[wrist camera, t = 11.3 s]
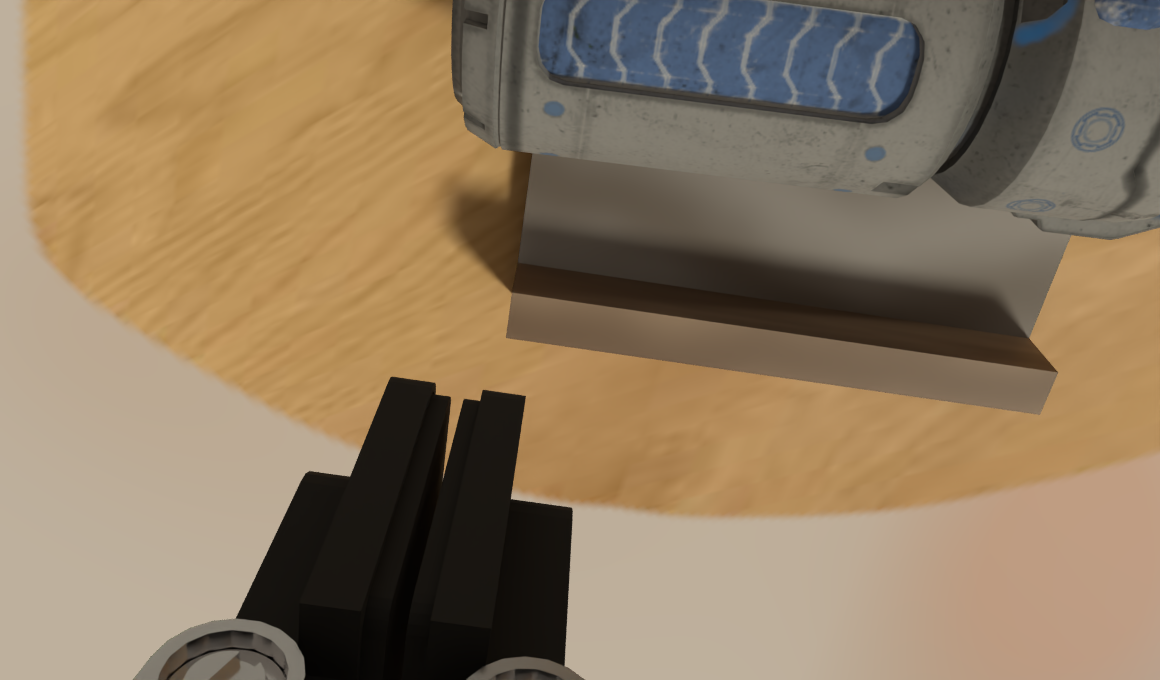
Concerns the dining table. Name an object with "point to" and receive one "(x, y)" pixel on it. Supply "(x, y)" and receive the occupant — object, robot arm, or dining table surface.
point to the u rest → (787, 281)
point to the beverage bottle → (838, 95)
